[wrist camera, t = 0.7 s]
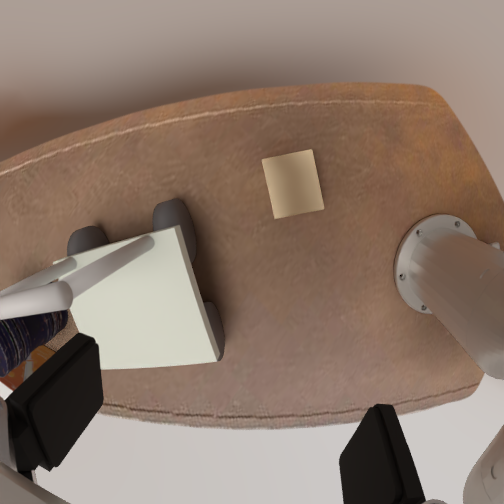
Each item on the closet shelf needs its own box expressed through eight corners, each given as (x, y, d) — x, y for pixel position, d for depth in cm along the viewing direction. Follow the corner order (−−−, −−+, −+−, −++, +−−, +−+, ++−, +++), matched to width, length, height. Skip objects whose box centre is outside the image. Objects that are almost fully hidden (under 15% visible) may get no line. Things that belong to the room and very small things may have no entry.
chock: (309, 151, 32) (312, 149, 29) (320, 205, 34) (324, 209, 30) (264, 160, 33) (261, 159, 29) (276, 213, 35) (274, 219, 31)
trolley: (194, 193, 35) (62, 232, 13) (236, 340, 39) (189, 489, 17) (86, 226, 37) (-52, 281, 15) (132, 352, 42) (47, 461, 20)
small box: (70, 358, 44) (27, 401, 31) (73, 384, 46) (35, 427, 33) (37, 340, 44) (-8, 376, 32) (41, 366, 46) (1, 402, 33)
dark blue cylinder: (24, 309, 43) (-33, 346, 29) (31, 264, 40) (-36, 296, 26) (63, 342, 43) (9, 390, 29) (73, 299, 41) (8, 345, 26)
